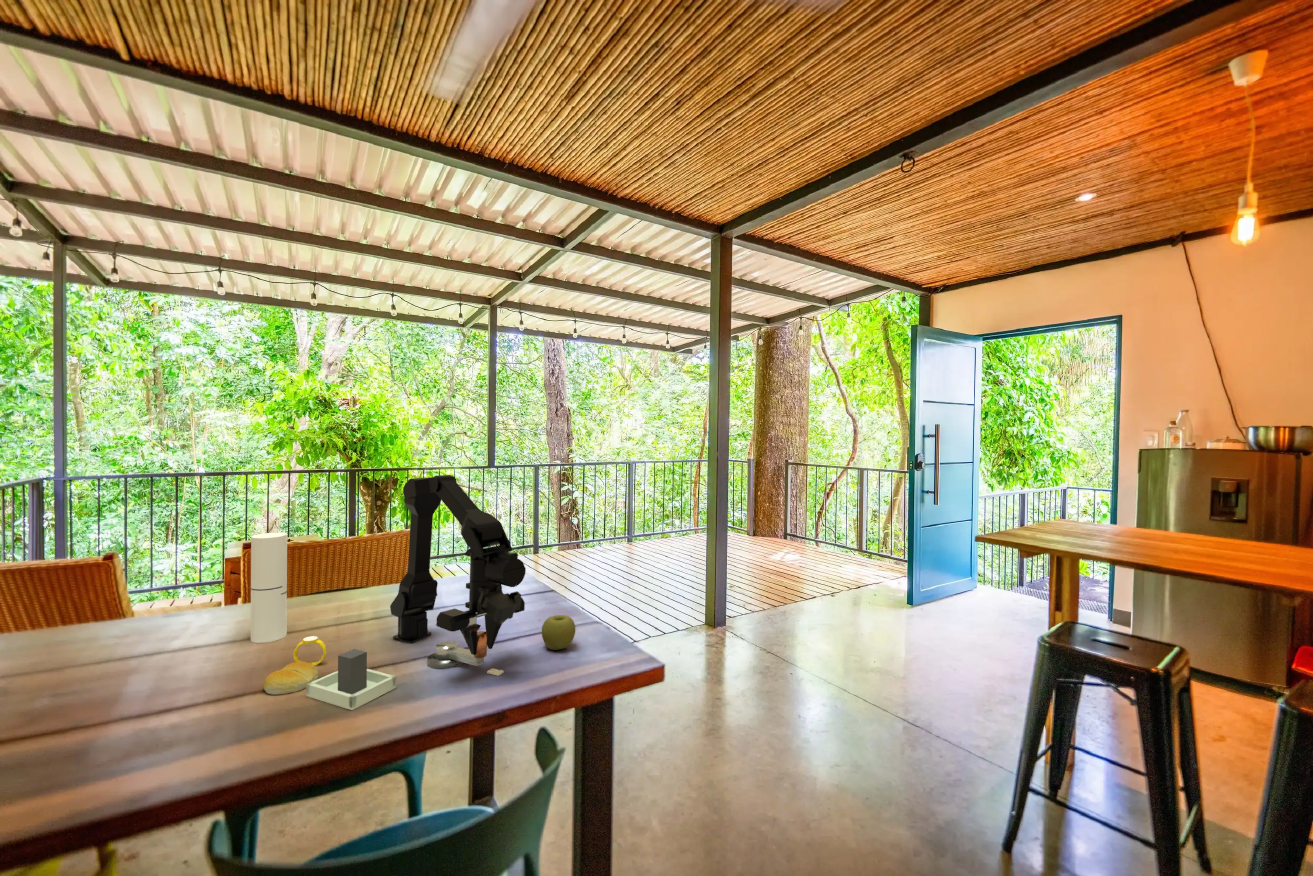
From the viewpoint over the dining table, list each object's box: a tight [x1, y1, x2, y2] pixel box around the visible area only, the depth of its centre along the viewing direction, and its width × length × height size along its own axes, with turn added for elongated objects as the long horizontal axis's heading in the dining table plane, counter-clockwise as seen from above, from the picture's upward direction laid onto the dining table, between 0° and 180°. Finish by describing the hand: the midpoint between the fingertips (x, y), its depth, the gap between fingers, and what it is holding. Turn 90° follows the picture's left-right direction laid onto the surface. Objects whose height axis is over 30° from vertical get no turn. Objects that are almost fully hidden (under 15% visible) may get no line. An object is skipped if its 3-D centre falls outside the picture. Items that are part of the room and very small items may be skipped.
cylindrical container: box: [250, 532, 288, 644], centre depth 132 cm, size 7×7×25 cm
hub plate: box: [426, 652, 465, 670], centre depth 121 cm, size 8×8×1 cm
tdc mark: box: [486, 667, 505, 677], centre depth 115 cm, size 3×2×1 cm, turn 67°
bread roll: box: [262, 660, 319, 696], centre depth 108 cm, size 8×9×4 cm
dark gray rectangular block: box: [337, 648, 368, 695], centre depth 106 cm, size 4×4×7 cm
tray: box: [305, 668, 397, 711], centre depth 106 cm, size 10×13×2 cm
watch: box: [292, 635, 328, 667], centre depth 118 cm, size 6×3×6 cm, turn 106°
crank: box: [435, 630, 488, 667], centre depth 118 cm, size 14×4×7 cm, turn 63°
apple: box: [541, 614, 576, 651], centre depth 129 cm, size 8×8×7 cm
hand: (481, 651), depth 117 cm, fingers open, 4 cm apart
